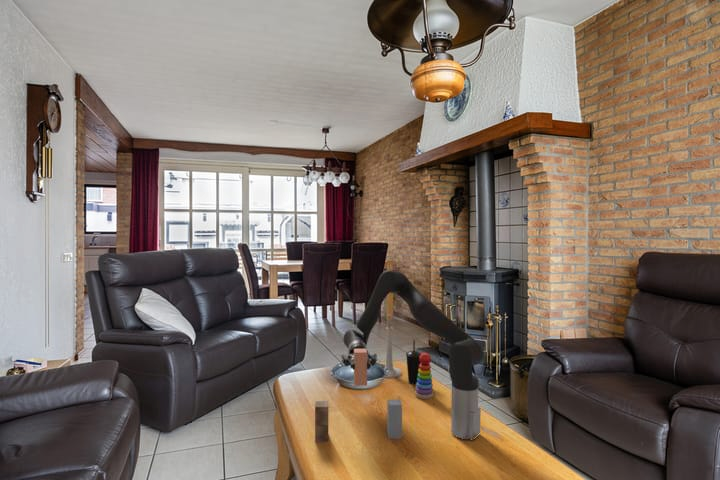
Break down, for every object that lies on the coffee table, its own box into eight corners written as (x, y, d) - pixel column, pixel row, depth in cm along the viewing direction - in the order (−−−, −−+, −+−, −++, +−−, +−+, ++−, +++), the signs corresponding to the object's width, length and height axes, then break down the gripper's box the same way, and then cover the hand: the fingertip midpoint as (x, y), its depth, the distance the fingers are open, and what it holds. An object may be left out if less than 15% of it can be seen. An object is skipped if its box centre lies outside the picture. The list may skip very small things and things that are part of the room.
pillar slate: (399, 432, 146) (399, 399, 146) (401, 438, 142) (402, 404, 141) (387, 432, 146) (387, 399, 146) (388, 439, 141) (389, 405, 141)
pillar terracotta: (366, 380, 150) (366, 348, 150) (367, 385, 146) (367, 352, 145) (353, 381, 150) (353, 348, 149) (354, 385, 145) (354, 352, 145)
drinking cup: (422, 385, 189) (423, 342, 188) (406, 385, 189) (406, 342, 188) (420, 379, 196) (421, 338, 196) (404, 379, 196) (405, 338, 196)
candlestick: (372, 375, 202) (372, 314, 201) (382, 367, 213) (383, 310, 212) (396, 379, 196) (396, 317, 195) (405, 371, 207) (406, 312, 206)
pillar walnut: (328, 434, 144) (328, 401, 144) (328, 441, 140) (328, 406, 140) (315, 434, 144) (315, 401, 144) (315, 441, 140) (315, 407, 139)
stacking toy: (432, 401, 172) (432, 357, 171) (413, 398, 175) (413, 355, 174) (434, 393, 180) (435, 351, 179) (416, 391, 182) (417, 349, 182)
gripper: (339, 342, 161) (340, 356, 144) (375, 342, 162) (381, 355, 145) (339, 361, 161) (340, 377, 144) (375, 360, 162) (381, 376, 145)
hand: (361, 366), depth 145 cm, fingers closed on pillar terracotta, 4 cm apart
